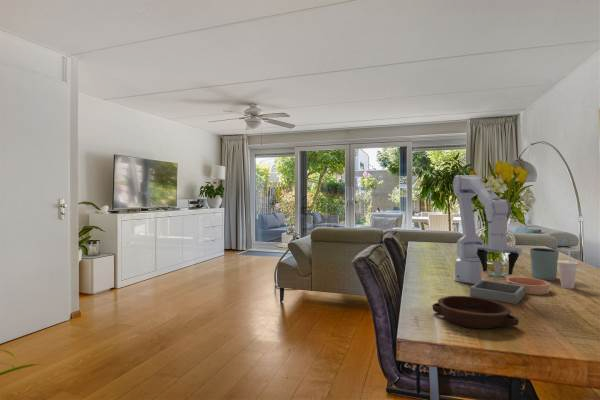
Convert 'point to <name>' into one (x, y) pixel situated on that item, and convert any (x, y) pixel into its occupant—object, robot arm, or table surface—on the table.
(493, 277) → the pacifier
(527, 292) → the bowl
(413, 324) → the table surface
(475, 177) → the robot arm
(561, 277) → the smoothie
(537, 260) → the grey green pot
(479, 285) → the gray square frame
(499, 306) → the dish
